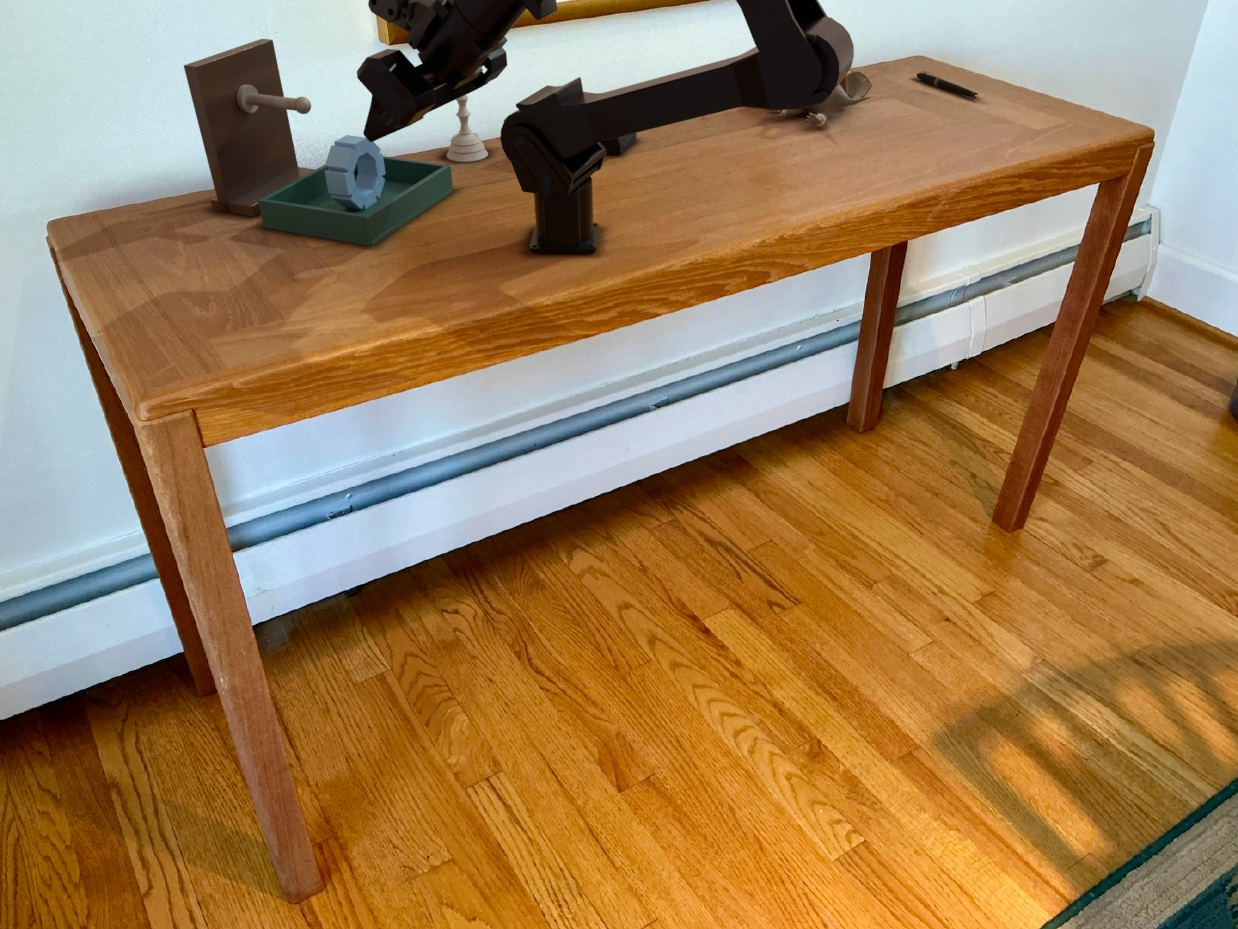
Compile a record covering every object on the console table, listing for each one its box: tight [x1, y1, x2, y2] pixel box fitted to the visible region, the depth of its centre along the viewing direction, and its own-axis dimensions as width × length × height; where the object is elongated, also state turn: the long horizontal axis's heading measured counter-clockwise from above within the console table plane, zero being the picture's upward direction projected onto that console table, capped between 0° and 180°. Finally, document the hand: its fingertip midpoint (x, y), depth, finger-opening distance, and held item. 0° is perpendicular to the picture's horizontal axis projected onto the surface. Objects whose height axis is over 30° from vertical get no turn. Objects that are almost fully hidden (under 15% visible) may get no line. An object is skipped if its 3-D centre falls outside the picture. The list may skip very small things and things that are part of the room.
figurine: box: [766, 68, 873, 127], centre depth 133 cm, size 20×6×17 cm
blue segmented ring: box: [324, 134, 386, 210], centre depth 104 cm, size 2×7×7 cm, turn 158°
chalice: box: [446, 94, 489, 163], centre depth 115 cm, size 7×7×18 cm
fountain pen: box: [915, 70, 984, 99], centre depth 142 cm, size 14×1×2 cm, turn 26°
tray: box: [258, 155, 454, 247], centre depth 106 cm, size 13×16×3 cm
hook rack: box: [183, 38, 317, 218], centre depth 105 cm, size 11×12×15 cm
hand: (393, 124), depth 99 cm, fingers open, 9 cm apart
